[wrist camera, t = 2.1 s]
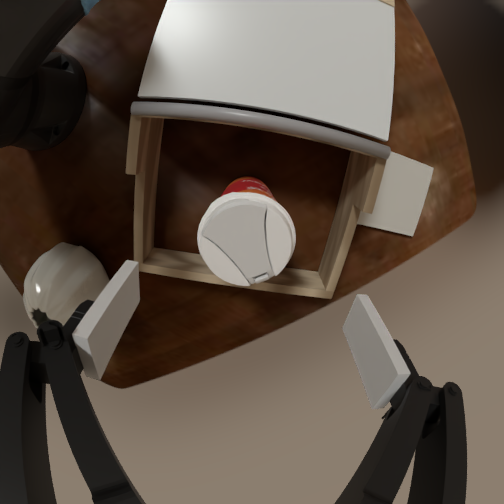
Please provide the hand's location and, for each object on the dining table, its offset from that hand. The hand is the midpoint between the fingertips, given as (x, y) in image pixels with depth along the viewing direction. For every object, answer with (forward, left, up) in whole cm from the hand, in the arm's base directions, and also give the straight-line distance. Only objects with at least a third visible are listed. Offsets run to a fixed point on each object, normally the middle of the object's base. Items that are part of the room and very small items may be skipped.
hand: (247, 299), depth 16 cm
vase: (-25, -16, -22) cm, 37 cm away
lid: (0, +20, -18) cm, 27 cm away
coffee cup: (0, 0, -22) cm, 22 cm away
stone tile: (+20, +5, -22) cm, 30 cm away
